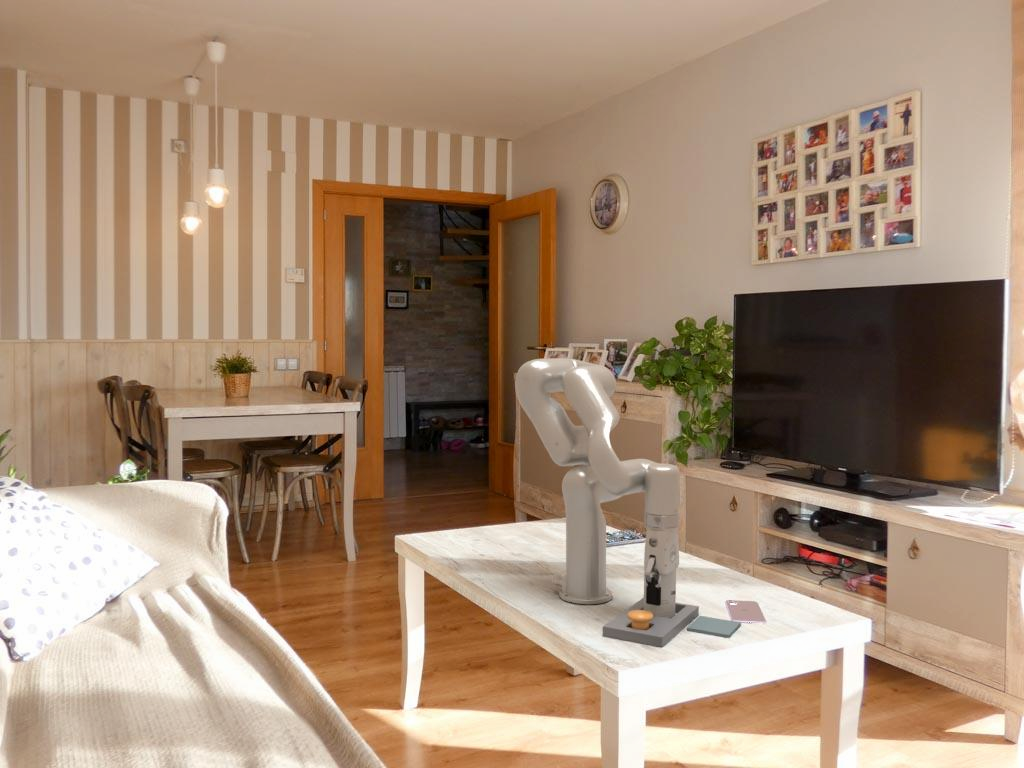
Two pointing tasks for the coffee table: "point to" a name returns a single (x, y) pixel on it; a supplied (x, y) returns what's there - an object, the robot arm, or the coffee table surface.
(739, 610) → the mobile phone
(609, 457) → the robot arm
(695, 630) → the mat
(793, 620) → the coffee table surface
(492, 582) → the coffee table surface
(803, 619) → the coffee table surface
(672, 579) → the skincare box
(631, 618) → the plunger
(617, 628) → the housing
